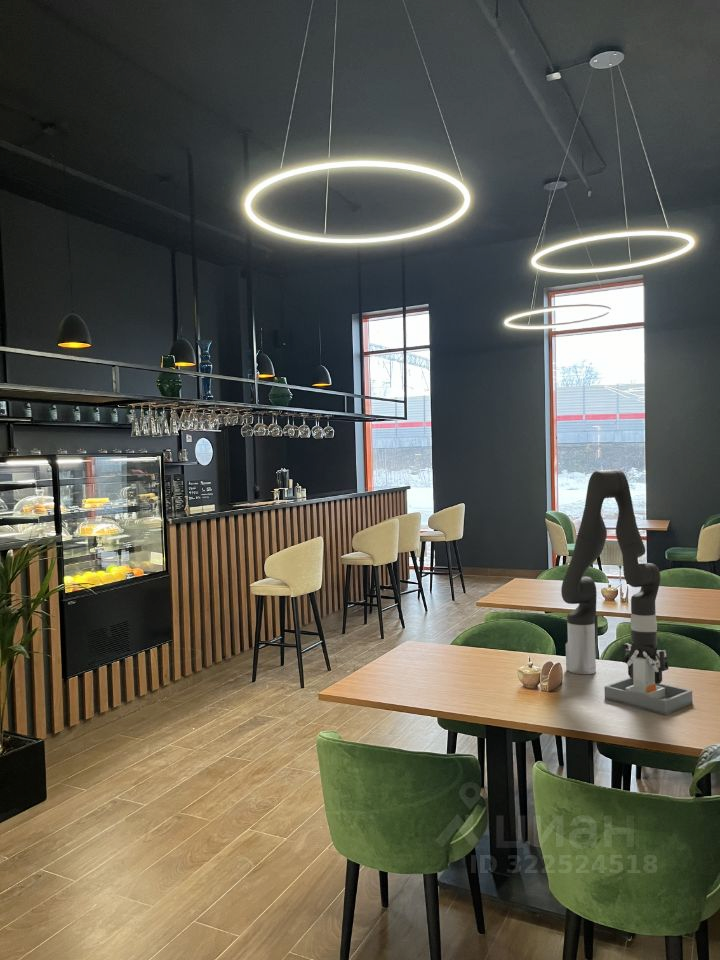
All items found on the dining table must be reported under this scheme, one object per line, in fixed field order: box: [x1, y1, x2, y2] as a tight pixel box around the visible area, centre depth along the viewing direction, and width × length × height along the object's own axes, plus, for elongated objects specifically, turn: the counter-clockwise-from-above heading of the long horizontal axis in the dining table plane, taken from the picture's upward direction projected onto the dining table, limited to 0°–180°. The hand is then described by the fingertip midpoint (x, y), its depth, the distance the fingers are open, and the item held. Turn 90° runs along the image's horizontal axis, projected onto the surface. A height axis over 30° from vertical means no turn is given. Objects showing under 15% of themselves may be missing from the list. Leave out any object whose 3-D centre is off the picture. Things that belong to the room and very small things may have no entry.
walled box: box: [603, 677, 693, 716], centre depth 219 cm, size 20×15×4 cm
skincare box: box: [633, 657, 656, 693], centre depth 222 cm, size 6×4×12 cm
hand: (645, 680), depth 222 cm, fingers open, 8 cm apart
